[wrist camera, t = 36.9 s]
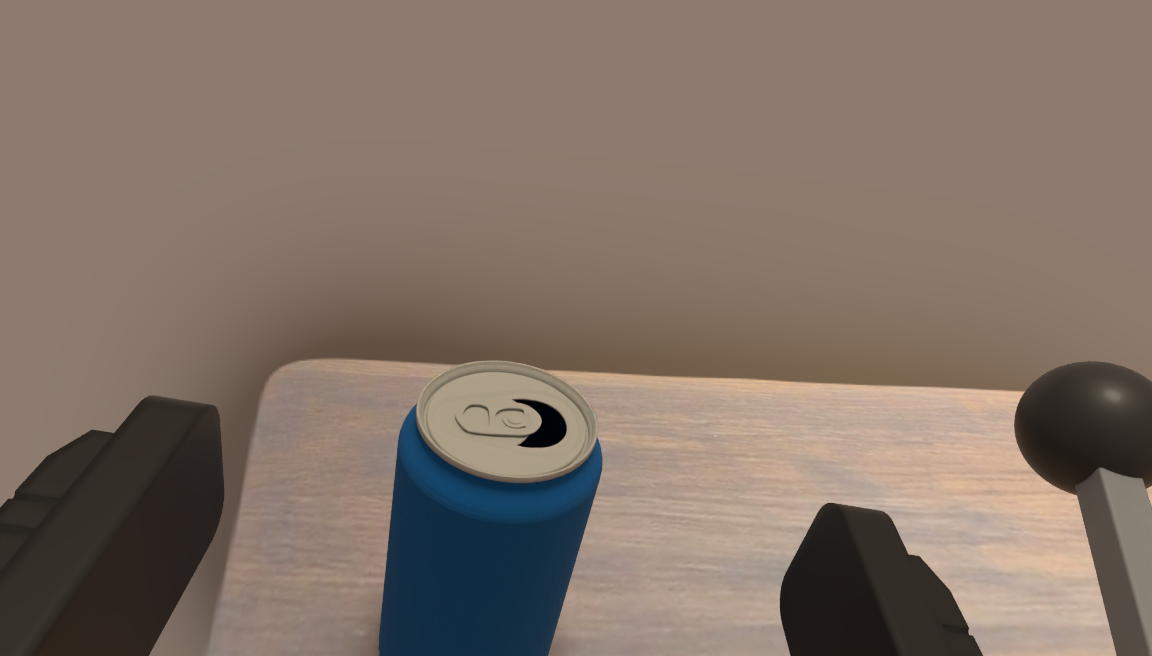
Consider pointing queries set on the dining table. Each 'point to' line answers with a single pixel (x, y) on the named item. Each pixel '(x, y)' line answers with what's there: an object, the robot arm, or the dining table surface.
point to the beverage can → (487, 512)
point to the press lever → (1101, 478)
